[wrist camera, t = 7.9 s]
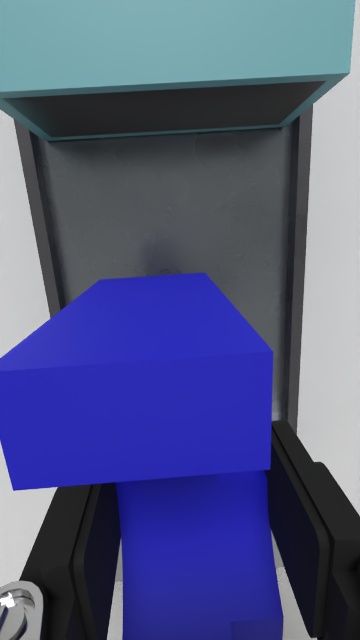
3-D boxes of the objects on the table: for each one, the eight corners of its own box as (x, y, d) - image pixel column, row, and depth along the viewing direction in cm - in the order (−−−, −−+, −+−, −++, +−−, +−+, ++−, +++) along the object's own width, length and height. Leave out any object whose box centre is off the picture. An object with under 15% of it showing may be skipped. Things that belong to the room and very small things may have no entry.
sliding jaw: (287, 55, 15) (358, -45, 9) (285, 127, 16) (349, 72, 10) (33, 69, 15) (-48, -27, 9) (44, 141, 16) (-23, 93, 10)
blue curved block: (254, 573, 12) (329, 869, 7) (140, 583, 12) (117, 893, 7) (257, 269, 9) (413, 340, 3) (99, 279, 9) (-18, 371, 3)
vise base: (295, 41, 16) (397, -105, 9) (280, 471, 24) (329, 576, 17) (21, 56, 16) (-97, -85, 9) (95, 486, 24) (64, 600, 16)
